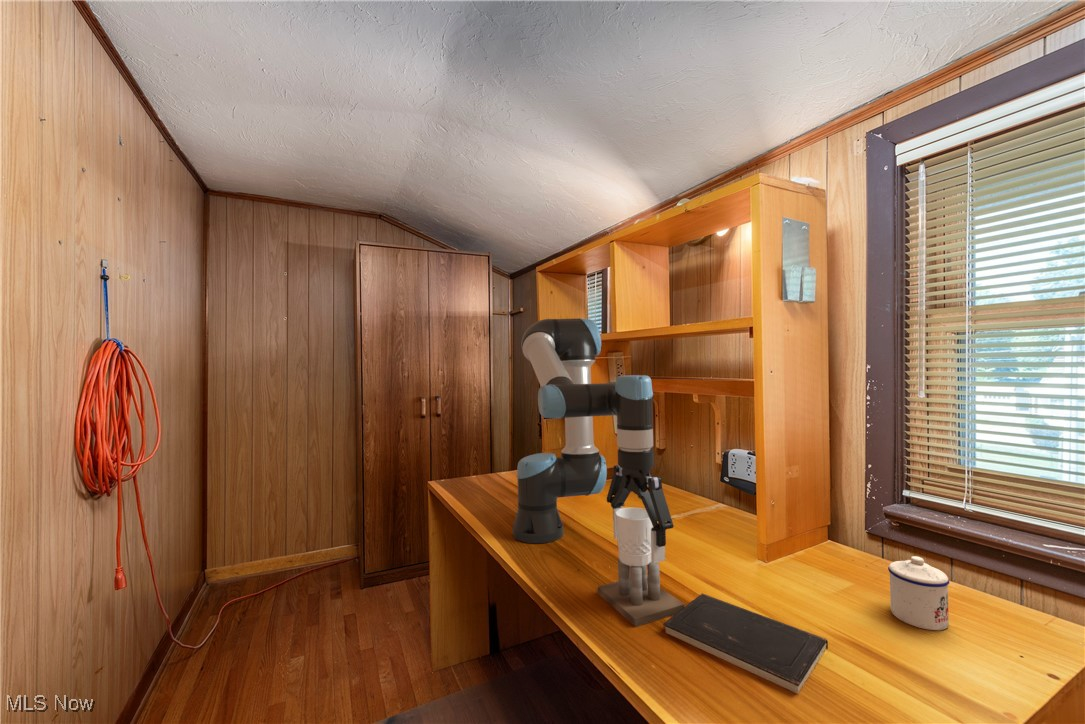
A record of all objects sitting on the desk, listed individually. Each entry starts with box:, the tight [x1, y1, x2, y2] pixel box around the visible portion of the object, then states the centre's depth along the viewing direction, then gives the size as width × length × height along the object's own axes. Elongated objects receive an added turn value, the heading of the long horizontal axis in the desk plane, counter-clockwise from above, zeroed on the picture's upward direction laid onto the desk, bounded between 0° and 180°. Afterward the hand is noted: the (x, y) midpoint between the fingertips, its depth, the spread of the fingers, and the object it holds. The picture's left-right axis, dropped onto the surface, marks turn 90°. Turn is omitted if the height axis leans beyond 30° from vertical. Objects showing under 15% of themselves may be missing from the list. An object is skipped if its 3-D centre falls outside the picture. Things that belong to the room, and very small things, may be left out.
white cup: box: [615, 507, 653, 567], centre depth 96 cm, size 8×8×10 cm
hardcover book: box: [662, 592, 829, 694], centre depth 82 cm, size 16×23×2 cm
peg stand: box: [597, 558, 685, 628], centre depth 95 cm, size 14×12×8 cm
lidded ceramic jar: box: [887, 555, 950, 631], centre depth 88 cm, size 12×9×12 cm
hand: (637, 548), depth 95 cm, fingers open, 13 cm apart
